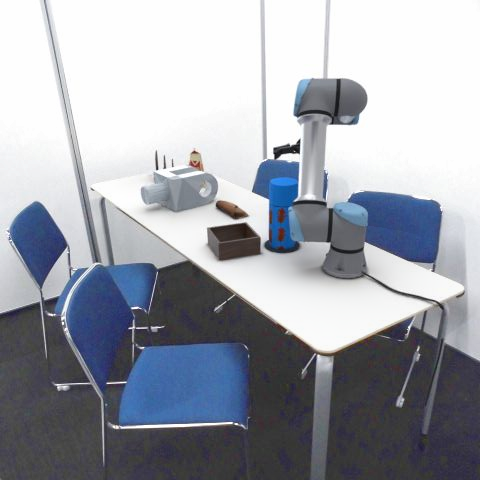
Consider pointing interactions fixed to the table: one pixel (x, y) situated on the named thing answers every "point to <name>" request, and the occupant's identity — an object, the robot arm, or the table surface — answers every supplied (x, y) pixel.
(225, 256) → the box
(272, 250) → the mat
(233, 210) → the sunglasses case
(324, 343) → the table surface
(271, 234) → the thermos
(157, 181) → the grey clevis bracket
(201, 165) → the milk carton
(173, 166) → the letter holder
